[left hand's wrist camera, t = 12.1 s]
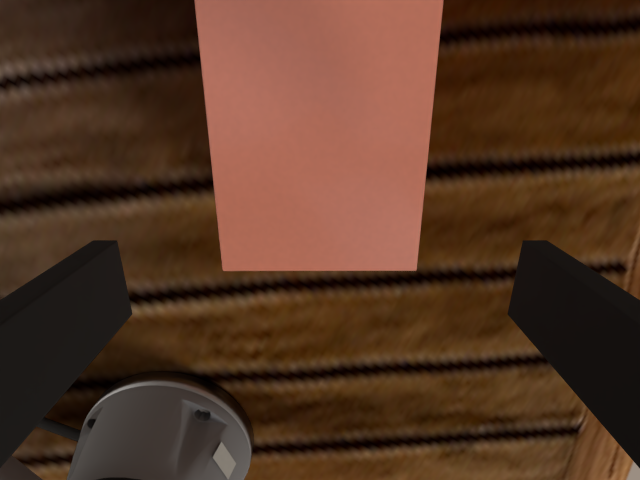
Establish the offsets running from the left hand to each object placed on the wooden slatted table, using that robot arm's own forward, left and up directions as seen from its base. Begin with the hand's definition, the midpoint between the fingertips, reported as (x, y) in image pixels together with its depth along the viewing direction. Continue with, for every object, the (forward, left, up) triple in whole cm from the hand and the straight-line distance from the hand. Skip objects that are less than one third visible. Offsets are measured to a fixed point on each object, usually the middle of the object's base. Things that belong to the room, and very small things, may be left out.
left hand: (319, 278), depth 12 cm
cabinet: (+1, +7, -16) cm, 17 cm away
